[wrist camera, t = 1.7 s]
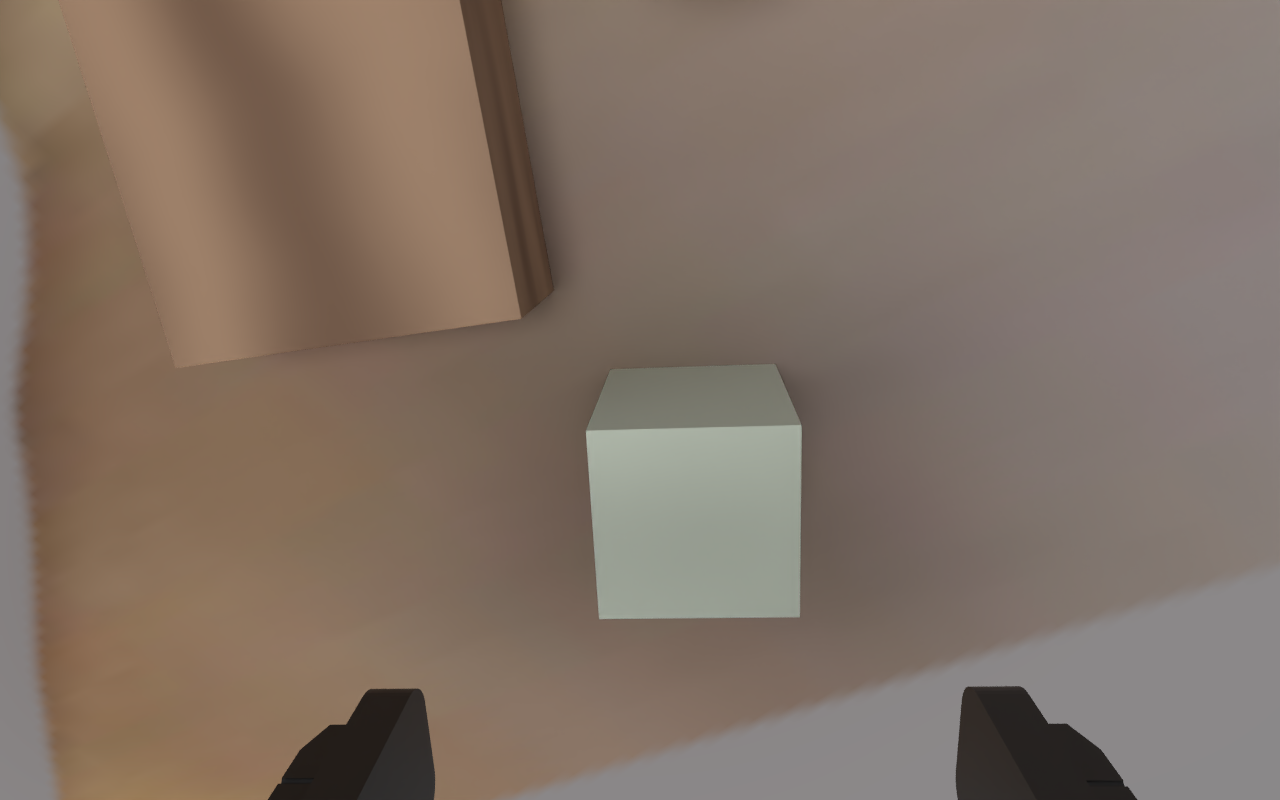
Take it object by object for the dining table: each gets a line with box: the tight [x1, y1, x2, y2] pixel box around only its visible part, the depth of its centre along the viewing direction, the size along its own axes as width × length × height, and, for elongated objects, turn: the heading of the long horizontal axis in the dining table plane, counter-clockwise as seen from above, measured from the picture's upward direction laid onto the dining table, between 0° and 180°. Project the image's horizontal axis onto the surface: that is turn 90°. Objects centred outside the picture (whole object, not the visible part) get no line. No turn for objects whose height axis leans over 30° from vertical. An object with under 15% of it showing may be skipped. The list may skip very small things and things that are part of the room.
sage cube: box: [586, 364, 802, 619], centre depth 22 cm, size 5×5×6 cm
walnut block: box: [58, 0, 554, 368], centre depth 21 cm, size 9×9×5 cm
